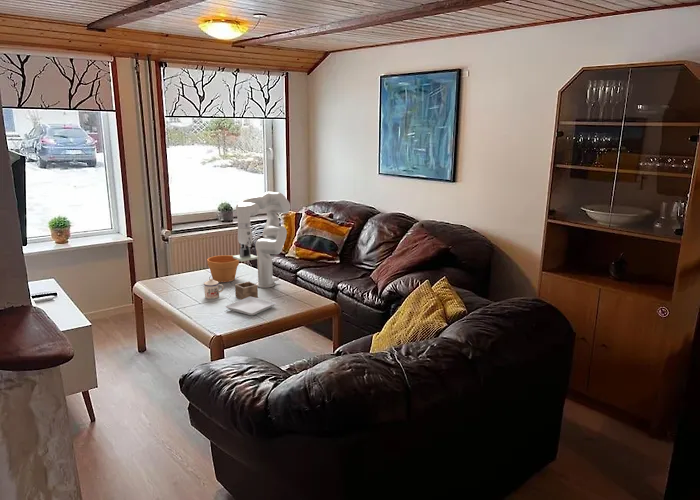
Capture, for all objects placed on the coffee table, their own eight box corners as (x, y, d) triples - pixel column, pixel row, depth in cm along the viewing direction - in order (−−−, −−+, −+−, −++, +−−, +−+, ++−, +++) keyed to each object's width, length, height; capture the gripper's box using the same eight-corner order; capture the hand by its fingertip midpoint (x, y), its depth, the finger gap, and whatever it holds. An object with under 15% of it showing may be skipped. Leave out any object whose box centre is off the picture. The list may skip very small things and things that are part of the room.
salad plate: (252, 318, 301) (252, 312, 301) (224, 311, 313) (224, 305, 312) (276, 308, 319) (276, 302, 318) (250, 301, 330) (249, 295, 329)
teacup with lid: (206, 300, 330) (205, 281, 327) (203, 295, 338) (202, 277, 335) (225, 297, 335) (225, 279, 333) (222, 293, 343) (221, 275, 341)
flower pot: (229, 273, 386) (228, 253, 383) (245, 280, 371) (244, 259, 368) (202, 279, 373) (201, 258, 369) (218, 286, 358) (216, 264, 354)
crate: (249, 293, 343) (249, 281, 341) (257, 297, 336) (257, 285, 334) (235, 296, 337) (235, 284, 335) (243, 300, 329) (243, 288, 328)
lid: (248, 255, 338) (248, 245, 336) (257, 258, 330) (257, 248, 328) (232, 257, 331) (232, 247, 329) (241, 261, 323) (241, 251, 321)
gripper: (256, 226, 322) (257, 256, 326) (242, 222, 334) (244, 251, 338) (245, 228, 317) (246, 258, 322) (231, 224, 329) (233, 253, 334)
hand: (245, 254), depth 330 cm, fingers closed on lid, 2 cm apart
